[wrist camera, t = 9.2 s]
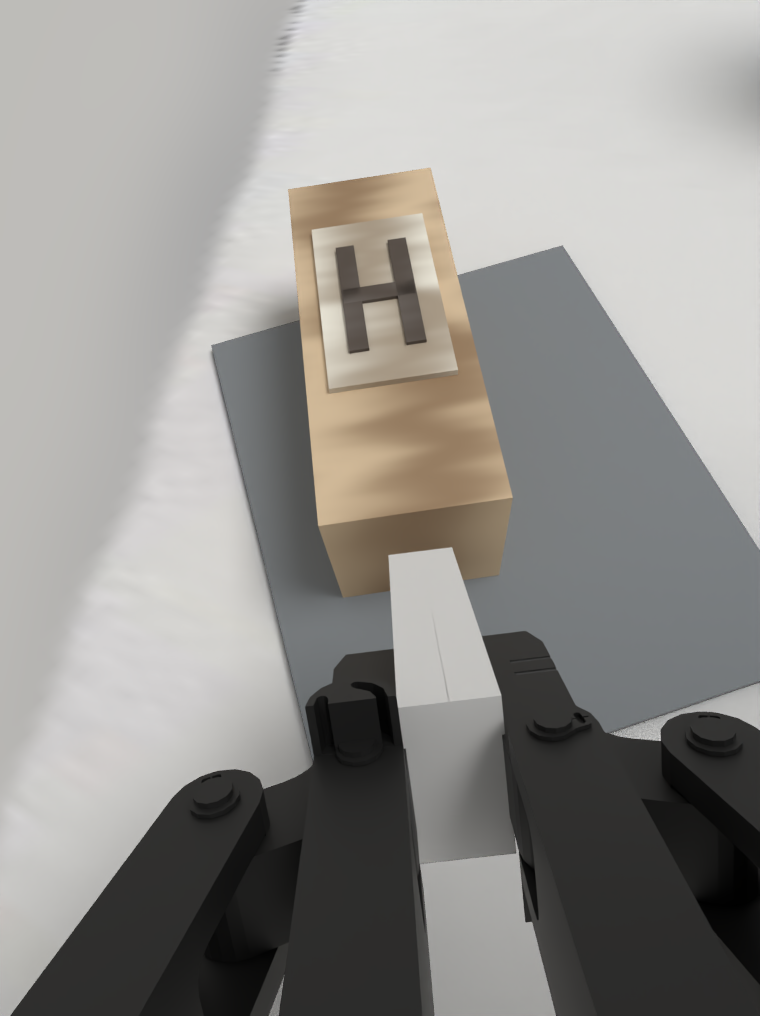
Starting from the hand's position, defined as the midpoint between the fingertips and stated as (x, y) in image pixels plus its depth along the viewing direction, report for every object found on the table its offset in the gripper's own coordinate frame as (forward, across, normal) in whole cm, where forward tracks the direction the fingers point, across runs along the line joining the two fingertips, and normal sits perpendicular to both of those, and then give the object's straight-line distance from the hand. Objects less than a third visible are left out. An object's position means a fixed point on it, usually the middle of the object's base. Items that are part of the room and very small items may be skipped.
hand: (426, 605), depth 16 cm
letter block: (+7, 0, -1) cm, 7 cm away
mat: (+13, +3, 0) cm, 13 cm away
